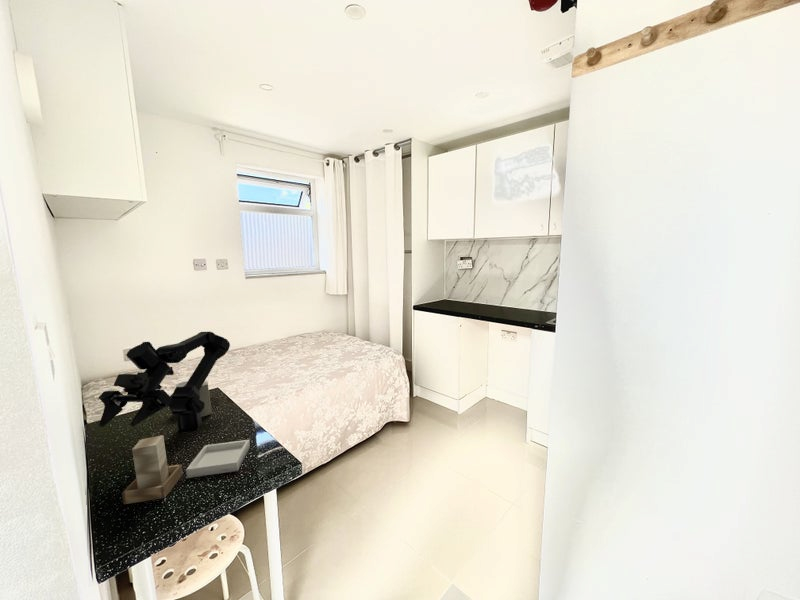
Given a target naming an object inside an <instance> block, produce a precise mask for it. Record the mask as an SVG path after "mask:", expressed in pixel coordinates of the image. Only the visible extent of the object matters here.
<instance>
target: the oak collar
mask: <svg viewBox="0 0 800 600" xmlns="http://www.w3.org/2000/svg"><path fill="white" fill-rule="evenodd" d="M168 472H169V478H168V479H167V480H166V481H165V482H164V484H163V485H162V486H156V487H150V488H143V489H138V485H137V478H135V479H134V480H133V481H131V483H130V484H129V485H128V486H127V487H126V488H125V489H124V490H123V491H122V492H121V496H122V497H121V498H122V504H123V505H127V504H133V503H134V504H135V503H141V502H147V501H153V500H160V499H165V498H166V497H167V496H168V495H169V493H170V492H171V491H172V489H173V488H174V487H175V485H176V484H177V483H178V482H179V481H180V479H181V478H182V476H183V474H184V473H183V472H184V471H183V464H174V465H168Z"/></svg>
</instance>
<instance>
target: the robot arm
mask: <svg viewBox="0 0 800 600" xmlns="http://www.w3.org/2000/svg"><path fill="white" fill-rule="evenodd" d="M200 347H202V348H203V354H204V355H203V357H202V358H201V360H200V362H199V363H198V365H197V366H196V367H195V369H194V370H193V371H192V374H191V376H190V377H189V378H188V380H187V381H188V382H187V383H186V385H185V386H183V387H177V388H176V387H175V389H174V390H173V392H172V394H171V395H169V393H167V392H166V391H165V390H164V389H162V385H161V383H162V382H163V380H164V379H165V377H167V376H174V374H175V373H174V369H173V366H170V365H169V364H178V363H180V362H182V361H183V360H184V359H186V357H187V355H188V354H189V353H190V352H193V351H194V350H196V349H198V348H200ZM230 348H231V344H230V341H228V339H227V338H225V337H223V336H220V335H218V334H216V333H215V332H212V331H200V332H198V333H197V334H195V335H192V336H191V337H187V338H186V339H184V340H181V341H180V342H177V343H173V344H172V343H171V344H167V345H166V344H165V345H162V346H159V347H157V349H156V348H155V347H154V346H153V344H152V343H151V342H150V341H143V342H142V343H141V344H138V345H135V346H134V347H132V348H131V349H129V350H128V351H127V353H126V357H127V358H128V359H129V360H130V362H132V363H133V365H135V367H136V368H138V369H139V370H141V371H142V370H144V371H143V372H141V371H140V372H137V373H119V374H117V377H116V378H115V381H114V383H113V387H119V388H123V389H122V391H123V392H124V393H127V394H123V393H122V392H121V391H120V390H105V391H102V393H101V394H100V395H99V396H98V399H99V400H101V401H100V402H101V403H103V406H104V408H103V412H102V415H101V418H100V422H99V424H98V426H99V427H101V428H103V427H105V426H106V425H107V424H108V423H110V422H111V421H112V420H113V419H115V417H117V415H118V414H120V413H121V412H122V411H123V410H124V409H123V408H124V407H126V405H127V404H128V403H141V406H140V408H139V409H138V411H137V412H136V413H135V416H134V417H133V419H132V421H131V422H130V424H129V425H130V427H135V426H137V425H139V423H142V422H143V421H145V420H146V419H148V418H149V417H150V416H152V415H154V414H155V413H158V412H159V411H162V410H164V408H169V409H170V411H171V413H172V415H177V418H176V426H177V429H178V430H177V431H176V433H177V434H181V433H182V434H183V433H189V432H196V431H198V430H199V429H200V428H201V427H202V425H203V424H205V421H203V420H202V417H201V412H202V410H203V409H204V405H205V403H204V402H203V401H201V400H199V399H200V392H199V390H200V388H201V386H202V385H203V383H204V382H205V381H207V378H208V376H209V375H210V373H211V371H212V370H213V368H214V366H215V364H216V362H217V361H218V360H220V358H222V357H224V356H225V355H226V353H227V352H228V351H229V349H230Z"/></svg>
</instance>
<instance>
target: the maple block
mask: <svg viewBox="0 0 800 600" xmlns="http://www.w3.org/2000/svg"><path fill="white" fill-rule="evenodd" d="M164 438H165V437H164V434H163V435H162V434H161V435H157V436H153V437H152V436H151V437H147V438H141V439H140V440H139V441H138V442H137V443H136V444H135V446H134V447H132V449H131V451H132V456H133V457H132V458H133V464H134V470H135V476H136V478H137V485H138V489H143V488H150V487H156V486H162V485H163V484H164V482H165V481H166V480H167V479H168V478H169V472H168V466H169V465H168V461H167V453H166V446H165V439H164ZM136 478H135V479H136Z"/></svg>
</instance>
